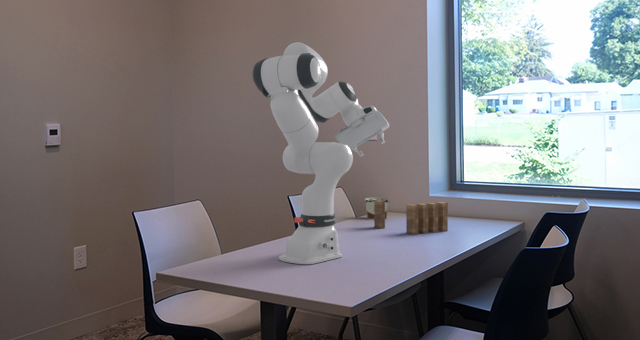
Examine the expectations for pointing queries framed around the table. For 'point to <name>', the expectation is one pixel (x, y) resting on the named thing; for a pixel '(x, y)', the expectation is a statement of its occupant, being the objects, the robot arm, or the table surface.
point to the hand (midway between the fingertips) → (372, 149)
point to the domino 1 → (379, 214)
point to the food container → (370, 206)
